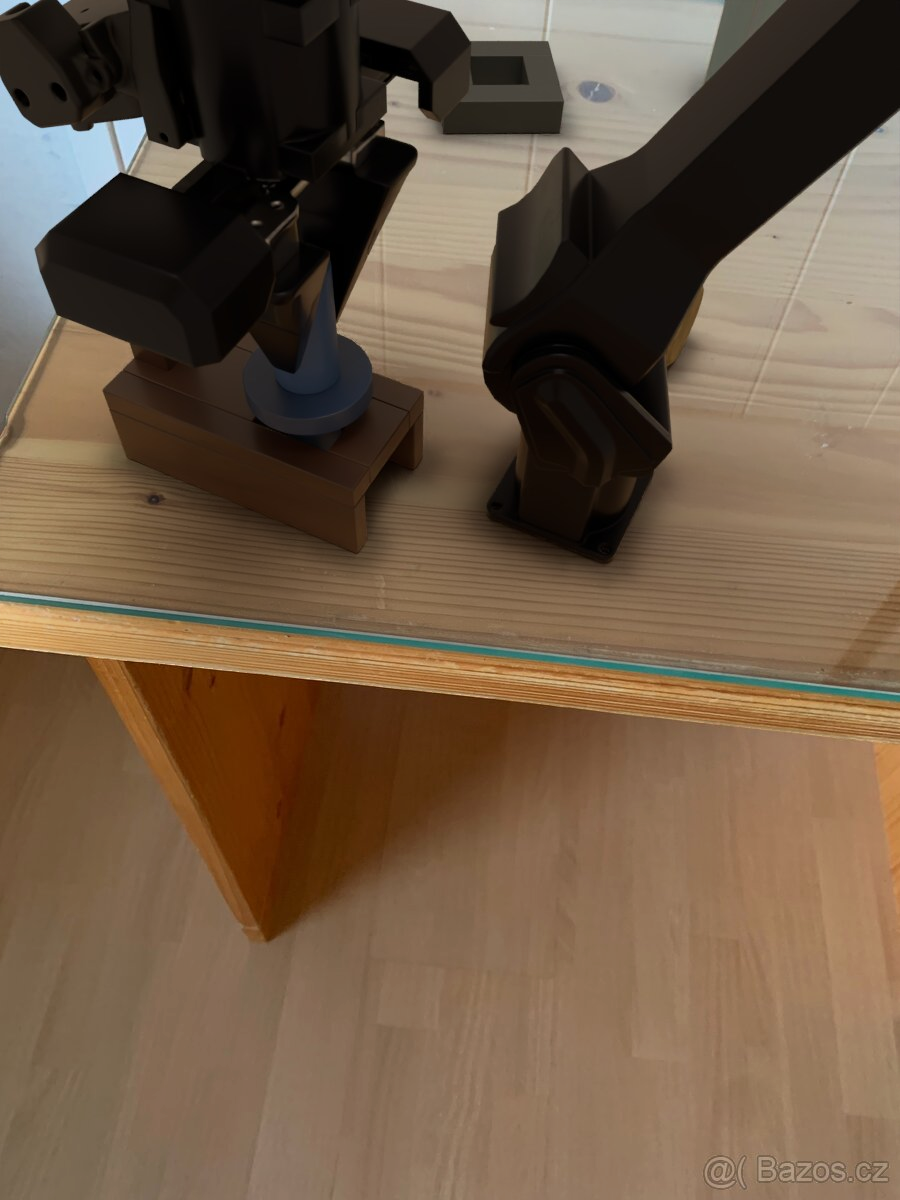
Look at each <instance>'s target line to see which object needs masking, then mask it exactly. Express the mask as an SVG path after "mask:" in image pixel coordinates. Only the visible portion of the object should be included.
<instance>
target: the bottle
mask: <svg viewBox="0 0 900 1200" xmlns="http://www.w3.org/2000/svg"><path fill="white" fill-rule="evenodd" d="M785 1H786V0H725V1H724V6H723V9H722V14H721V17H720V21H719V24H718V27H717V33H716V36H715V41H714V45H713V48H712V52H711V56H710V59H709V64H708V66H707V67H708V68H707V72H706V76H705V81H704V84H705V83H706V82H707V81H708V80H709V79H710V78H711V77H712V76H713V75H714V74H715V73H716V72H717V71H718V70H719V69H720V68H721V67H722V65H723V64H724V63H725V62H726V61H727V60H728V59H729V58H730V57H731V56H732V55H733V54H734V53H735V52H736V51H737V50H738V49H739V48H740V47H741V46H742V45H743V44H744V43H745V42H746V41H747V40H748V39H749V38H750V37H751V36H752V35H753V34H754V33H755V32H756V31H757V30H758V29H759V28H760V27H761V26H762V25H763V24H764V23H765V21H766V20H767V19H768V18H769V17H770V16H771V15H772V14H773V13H774V12H775V11H776V10H777V9H778V8H779V7H780V6H781V5H782V4H783V3H784V2H785Z"/></svg>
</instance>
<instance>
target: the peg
mask: <svg viewBox="0 0 900 1200" xmlns="http://www.w3.org/2000/svg"><path fill="white" fill-rule="evenodd" d="M308 244H309V243H308ZM311 245H313V244H311ZM314 246H315V245H314ZM317 247H318V246H317ZM373 372H374V371H373V366H372V362H371V359H370V357H369V356H368V354H367V352H366V351H365V349H363V348H362V346H360V345H359V344H358V343H357V342H355V341H353V340H352V339H351V338H350V337H347V336H345V335H342V334H340V333H338V328H337V324H336V315H335V303H334V291H333V279H332V268H331V260H330V258H329V262H328V266H327V270H326V274H325V277H324V281H323V285H322V289H321V292H320V296H319V300H318V304H317V308H316V311H315V315H314V319H313V323H312V327H311V331H310V335H309V339H308V343H307V346H306V349H305V353H304V356H303V359H302V362H301V365H300V368H299V369H298V370H297V372H296V373H295V374H291V373H288V372H285V371H282V370H280V369H277V368H275V367H274V366H273V365H272V364H271V363H270V362H269V360H268V359H267V357H266V356H265V354H264V353H263V351H262V350H261V349H260V347H258V348H256V349H255V350H254V351H253V353H252V354H251V355H250V356H249V358H248V359H247V361H246V364H245V366H244V369H243V376H242V379H243V386H244V391H245V396H246V400H247V403H248V406H249V408H250V410H251V411H252V412H253V414H254V415H255V416H256V417H257V418H258V419H259V420H260V421H261V422H263V423H264V424H266V425H267V427H268V428H270V429H272V430H275V431H277V432H280V433H284V434H288V436H289V437H292V438H294V439H297V440H299V441H302V442H304V443H307V444H309V445H312V446H314V447H317V448H319V449H322V450H324V451H327V452H328V450H329V449H330V448H331V446H332V445H333V444H334V442H335V441H336V440H337V438H338V437H339V436H340V434H341V428H343V427H345V426H347V425H349V424H350V423H352V422H353V421H355V420H356V419H357V418H358V417H360V416H361V415H362V414H363V412H364V411H365V410H366V409H367V407H368V405H369V403H370V401H371V399H372V395H373Z"/></svg>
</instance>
